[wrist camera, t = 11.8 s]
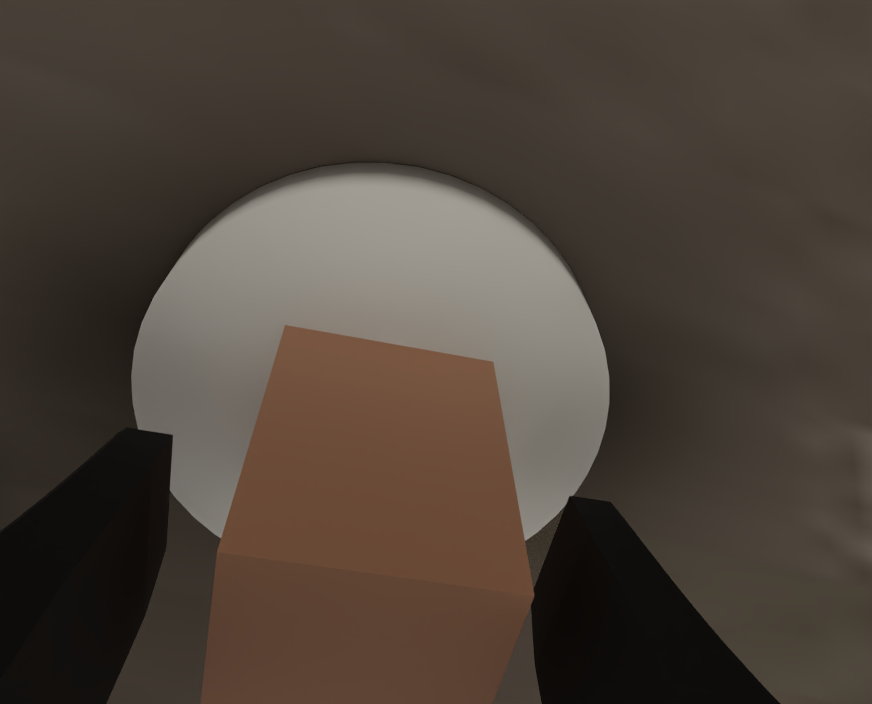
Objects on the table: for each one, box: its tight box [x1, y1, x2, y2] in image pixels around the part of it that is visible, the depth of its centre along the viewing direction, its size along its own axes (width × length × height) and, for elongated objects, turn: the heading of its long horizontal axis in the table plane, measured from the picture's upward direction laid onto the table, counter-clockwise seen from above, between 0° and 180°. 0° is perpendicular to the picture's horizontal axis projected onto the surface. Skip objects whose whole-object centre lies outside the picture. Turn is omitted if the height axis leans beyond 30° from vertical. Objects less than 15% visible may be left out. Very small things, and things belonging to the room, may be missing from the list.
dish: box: [131, 163, 609, 541], centre depth 14 cm, size 8×8×1 cm
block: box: [201, 325, 534, 704], centre depth 11 cm, size 3×3×5 cm
